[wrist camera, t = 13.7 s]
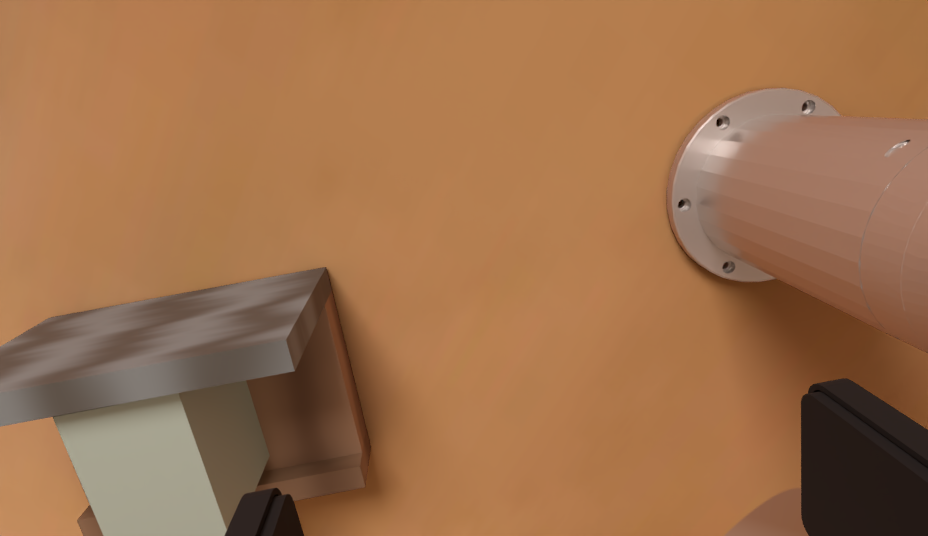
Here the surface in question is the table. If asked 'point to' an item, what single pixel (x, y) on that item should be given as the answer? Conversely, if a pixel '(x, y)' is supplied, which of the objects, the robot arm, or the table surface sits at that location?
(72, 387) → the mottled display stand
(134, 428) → the mini block
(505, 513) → the table surface
